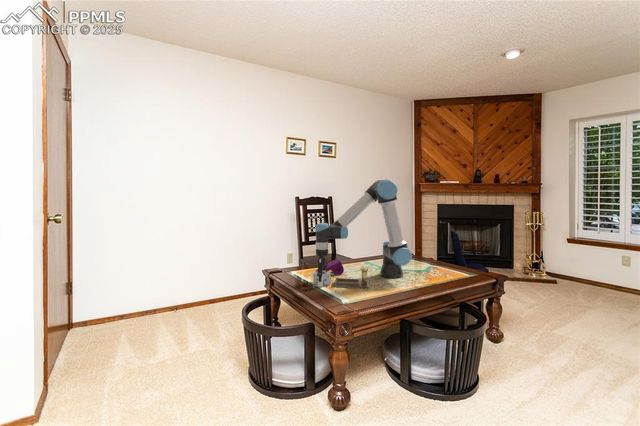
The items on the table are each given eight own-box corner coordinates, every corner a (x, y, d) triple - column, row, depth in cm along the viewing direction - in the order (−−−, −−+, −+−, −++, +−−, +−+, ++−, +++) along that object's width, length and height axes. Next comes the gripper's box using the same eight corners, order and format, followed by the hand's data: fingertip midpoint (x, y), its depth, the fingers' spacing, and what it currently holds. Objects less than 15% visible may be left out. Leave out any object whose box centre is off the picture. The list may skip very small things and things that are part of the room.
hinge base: (368, 282, 203) (368, 266, 203) (368, 288, 192) (368, 271, 191) (336, 281, 207) (336, 265, 206) (334, 286, 195) (334, 270, 194)
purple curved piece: (322, 284, 220) (345, 272, 222) (316, 273, 219) (340, 261, 221) (319, 280, 230) (342, 268, 231) (314, 270, 228) (337, 258, 230)
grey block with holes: (330, 283, 203) (330, 272, 202) (329, 285, 198) (329, 274, 197) (314, 282, 204) (314, 271, 204) (313, 285, 199) (313, 273, 199)
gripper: (319, 245, 212) (319, 278, 214) (312, 252, 188) (312, 289, 190) (330, 245, 211) (330, 278, 212) (325, 252, 187) (325, 289, 189)
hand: (321, 283), depth 201 cm, fingers open, 12 cm apart
